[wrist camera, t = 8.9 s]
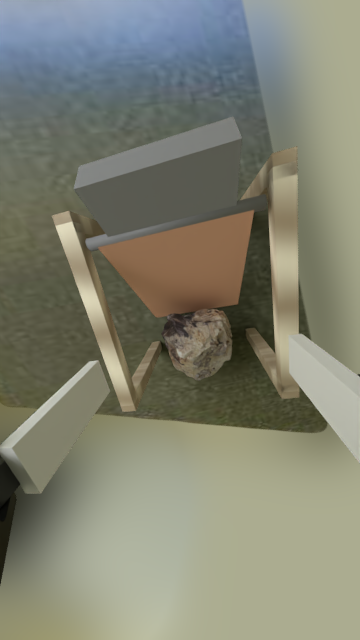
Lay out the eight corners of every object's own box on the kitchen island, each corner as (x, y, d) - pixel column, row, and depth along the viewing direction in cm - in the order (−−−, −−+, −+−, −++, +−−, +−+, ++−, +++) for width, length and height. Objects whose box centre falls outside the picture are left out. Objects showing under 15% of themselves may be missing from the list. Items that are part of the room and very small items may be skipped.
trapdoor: (52, 174, 12) (44, 200, 11) (269, 104, 10) (284, 129, 9) (151, 303, 30) (151, 318, 29) (239, 287, 28) (243, 303, 27)
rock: (229, 282, 23) (222, 352, 17) (239, 334, 31) (236, 393, 26) (165, 289, 27) (142, 349, 21) (189, 334, 35) (177, 386, 29)
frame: (124, 236, 28) (51, 215, 14) (244, 207, 25) (297, 146, 12) (154, 349, 34) (123, 411, 20) (255, 335, 31) (299, 397, 17)
